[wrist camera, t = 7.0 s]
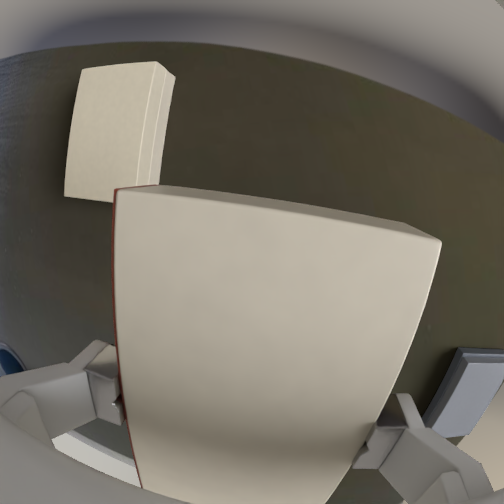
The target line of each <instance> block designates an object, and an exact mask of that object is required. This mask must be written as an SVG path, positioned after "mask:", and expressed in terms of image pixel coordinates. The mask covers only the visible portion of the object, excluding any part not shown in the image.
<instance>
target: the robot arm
mask: <svg viewBox="0 0 504 504" xmlns="http://www.w3.org/2000/svg"><path fill="white" fill-rule="evenodd" d="M121 392H122V390H121V383H120V376H119V373H118V364H117V355H116V345H113V344H110V343H107V342H104V341H101V340H94V341H93V342H92V343H91V344H90V345H89V346H87V347H86V348H85V349H84V350H83V351H82V352H81V353H80V354H79V355H78V356H76V357H75V358H74V359H73V360H72V361H71V362H70V363H69V364H67V363H65V362H64V363H60V364H56V365H51V366H47V367H43V368H38V369H34V370H29V371H24V372H20V373H15V374H10V375H5V376H2V377H1V378H0V504H193V503H189V502H185V501H181V500H178V499H174V498H171V497H167V496H164V495H161V494H158V493H155V492H152V491H149V490H146V489H143V488H140V487H137V486H135V485H132V484H129V483H127V482H124V481H121V480H119V479H117V478H114V477H112V476H109V475H107V474H105V473H103V472H100V471H98V470H95V469H94V468H92V467H89V466H87V465H85V464H83V463H81V462H79V461H77V460H75V459H73V458H71V457H69V456H67V455H66V454H64V453H62V452H60V451H58V450H57V449H55V447H54V444H53V442H52V440H51V439H53V438H55V437H57V436H59V435H62V434H64V433H66V432H68V431H70V430H73V429H75V428H77V427H79V426H81V425H83V424H85V423H88V422H90V421H92V420H94V419H96V418H97V417H98V418H101V419H104V420H106V421H109V422H112V423H114V424H117V425H120V426H121V425H122V424H123V422H124V421H125V419H126V416H125V409H124V403H123V401H122V394H121ZM365 439H366V441H365V443H364V444H363V446H362V447H361V448H360V449H359V450H358V452H357V454H356V456H355V457H354V459H353V461H352V468H353V469H379V471H380V472H381V473H382V475H383V476H384V477H385V478H386V479H387V480H388V481H389V483H390V484H391V485H392V486H393V487H394V488H395V490H396V491H397V492H398V493H399V494H400V495H401V496H402V497H403V499H404V500H405V501H406V502H407V503H408V504H504V488H503V489H500V490H498V491H495V492H494V491H493V488H492V486H491V484H490V482H489V479H488V477H487V475H486V473H485V471H484V469H483V467H482V464H481V463H479V462H478V461H476V460H475V459H473V458H472V457H471V456H469V455H468V454H466V453H465V452H463V451H462V450H460V449H459V448H458V447H456V446H455V445H453V444H452V443H450V442H449V441H448V440H446V439H445V438H443V437H442V436H441V435H439V434H438V433H436V432H435V431H433V430H432V429H431V428H425V426H424V424H423V421H422V419H421V417H420V415H419V412H418V410H417V408H416V406H415V404H414V401H413V399H412V397H411V395H409V394H408V393H394V394H390V395H389V397H388V399H387V401H386V403H385V405H384V407H383V409H382V411H381V413H380V415H379V417H378V419H377V421H375V422H374V424H373V426H372V427H371V429H370V431H369V433H368V435H367V436H366V438H365Z"/></svg>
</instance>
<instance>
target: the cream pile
mask: <svg viewBox="0 0 504 504" xmlns="http://www.w3.org/2000/svg"><path fill="white" fill-rule="evenodd" d="M174 82H175V76H173V75H172V74H171V73H169V72H168V71H167V70H166V68H164V67H163V66H162V65H160V64H159V63H158V62H140V63H128V64H118V65H109V66H101V67H94V68H87V69H82V72H81V76H80V81H79V85H78V90H77V95H76V100H75V105H74V111H73V117H72V123H71V129H70V136H69V144H68V153H67V162H66V173H65V187H64V196H65V197H73V198H82V199H90V200H97V201H105V202H113V196H114V189H116V188H124V187H133V186H143V185H153V184H156V185H159V177H160V169H161V161H162V154H163V146H164V140H165V133H166V126H167V120H168V114H169V108H170V103H171V97H172V92H173V87H174Z"/></svg>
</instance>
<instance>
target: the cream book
mask: <svg viewBox="0 0 504 504" xmlns="http://www.w3.org/2000/svg"><path fill="white" fill-rule="evenodd" d="M441 246H442V244H441V241H440V240H439V239H437V238H435V237H433V236H431V235H429V234H426V233H424V232H422V231H420V230H418V229H416V228H414V227H412V226H409V225H407V224H405V223H401V222H396V221H392V220H387V219H382V218H377V217H372V216H367V215H362V214H357V213H351V212H346V211H341V210H335V209H330V208H324V207H318V206H312V205H306V204H300V203H294V202H288V201H282V200H275V199H269V198H262V197H255V196H248V195H241V194H234V193H226V192H218V191H210V190H202V189H194V188H185V187H176V186H167V185H156V184H153V185H143V186H133V187H124V188H116V189H114V196H113V214H112V249H111V268H112V303H113V320H114V334H115V345H116V355H117V364H118V373H119V376H120V383H121V390H122V392H121V394H122V401H123V403H124V409H125V416H126V424H127V429H128V434H129V439H130V444H131V448H132V453H133V457H134V461H135V465H136V469H137V473H138V477H139V481H140V485H141V488H143V489H146V490H149V491H152V492H155V493H158V494H161V495H164V496H167V497H171V498H174V499H178V500H181V501H185V502H189V503H193V504H325V503H326V502H327V500H328V499H329V497H330V496H331V495H332V493H333V492H334V490H335V489H336V487H337V486H338V484H339V483H340V481H341V480H342V478H343V477H344V475H345V474H346V472H347V471H348V469H349V468H350V466H351V464H352V461H353V459H354V457H355V456H356V454H357V452H358V450H359V449H360V448H361V447H362V446H363V444H364V443H365V441H366V439H365V438H366V436H367V435H368V433H369V431H370V429H371V427H372V426H373V424H374V422H375V421H377V419H378V417H379V415H380V413H381V411H382V409H383V407H384V405H385V403H386V401H387V399H388V397H389V395H390V392H391V390H392V388H393V386H394V384H395V382H396V379H397V377H398V375H399V373H400V370H401V368H402V366H403V363H404V361H405V358H406V356H407V353H408V351H409V348H410V346H411V343H412V341H413V338H414V335H415V333H416V330H417V327H418V324H419V321H420V318H421V316H422V313H423V310H424V307H425V303H426V300H427V297H428V294H429V291H430V287H431V284H432V280H433V277H434V273H435V270H436V266H437V262H438V258H439V254H440V250H441Z"/></svg>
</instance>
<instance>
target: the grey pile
mask: <svg viewBox="0 0 504 504" xmlns="http://www.w3.org/2000/svg"><path fill="white" fill-rule="evenodd" d="M503 379H504V350H503V349H481V348H461V347H458V349H457V351H456V353H455V356H454V358H453V360H452V362H451V364H450V366H449V368H448V371H447V373H446V375H445V377H444V379H443V381H442V382H441V384H440V386H439V388H438V390H437V392H436V394H435V396H434V397H433V399H432V401H431V403H430V405H429V406H428V408H427V410H426V412H425V413H424V415H423V417H422V418H421V419H422V421H423V424H424V426H425V428H431V429H432V430H433V431H435V432H436V433H438V434H439V435H441V436H442V437H443V438H446V437H455V436H463V435H469V434H470V432H471V431H472V429H473V428H474V427H475V425H476V424H477V422H478V421H479V419H480V418H481V416H482V415H483V413H484V411H485V410H486V408H487V407H488V405H489V403H490V402H491V400H492V398H493V397H494V395H495V393H496V392H497V390H498V388H499V386H500V385H501V383H502V381H503Z"/></svg>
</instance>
